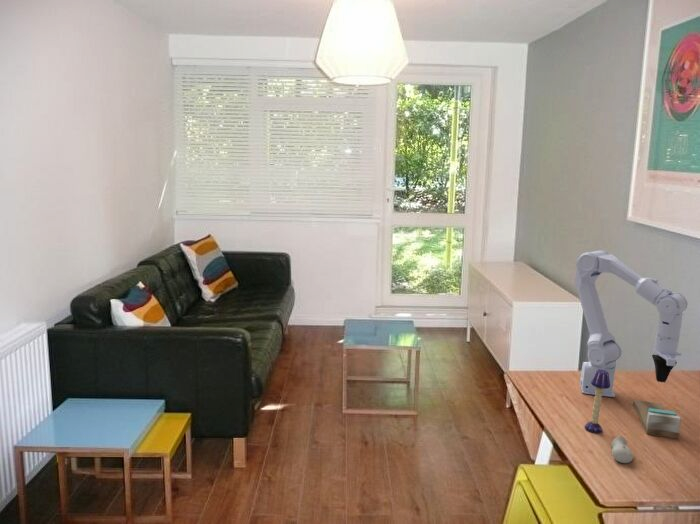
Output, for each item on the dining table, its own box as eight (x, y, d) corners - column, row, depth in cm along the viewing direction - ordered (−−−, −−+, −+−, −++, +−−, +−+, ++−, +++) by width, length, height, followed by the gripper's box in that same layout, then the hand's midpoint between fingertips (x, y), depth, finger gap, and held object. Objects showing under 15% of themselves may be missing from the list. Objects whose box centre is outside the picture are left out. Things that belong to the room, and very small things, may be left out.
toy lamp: (589, 423, 160) (597, 366, 156) (606, 429, 156) (614, 371, 153) (582, 429, 156) (589, 370, 153) (599, 435, 153) (607, 376, 150)
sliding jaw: (647, 424, 156) (650, 410, 156) (646, 421, 158) (648, 407, 157) (674, 428, 155) (676, 414, 154) (672, 425, 156) (675, 411, 156)
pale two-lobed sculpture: (629, 471, 139) (608, 461, 140) (628, 455, 146) (607, 445, 147) (638, 457, 137) (616, 446, 139) (636, 441, 144) (615, 431, 146)
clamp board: (646, 433, 155) (649, 414, 154) (632, 404, 173) (635, 387, 172) (677, 438, 153) (680, 419, 152) (660, 408, 171) (663, 390, 170)
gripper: (690, 345, 156) (683, 393, 159) (676, 330, 170) (669, 373, 173) (662, 342, 158) (655, 389, 161) (650, 327, 172) (643, 370, 174)
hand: (660, 381), depth 167 cm, fingers closed
